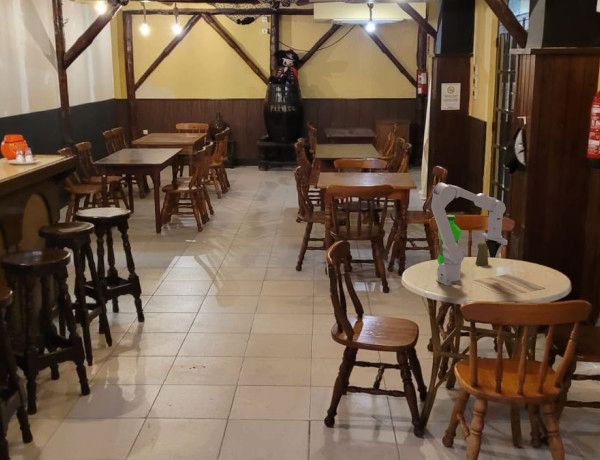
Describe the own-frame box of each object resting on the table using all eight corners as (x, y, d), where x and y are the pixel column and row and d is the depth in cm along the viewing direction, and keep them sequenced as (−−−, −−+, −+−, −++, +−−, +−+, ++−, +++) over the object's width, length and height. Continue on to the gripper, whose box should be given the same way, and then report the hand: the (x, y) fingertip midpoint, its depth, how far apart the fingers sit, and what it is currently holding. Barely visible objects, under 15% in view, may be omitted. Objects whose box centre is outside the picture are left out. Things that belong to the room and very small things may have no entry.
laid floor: (505, 299, 271) (505, 296, 271) (469, 284, 291) (469, 280, 290) (531, 294, 278) (531, 291, 277) (494, 279, 297) (495, 276, 296)
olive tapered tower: (486, 262, 323) (487, 240, 320) (490, 266, 317) (491, 243, 314) (473, 262, 322) (475, 240, 320) (477, 266, 317) (479, 244, 314)
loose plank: (532, 294, 278) (532, 290, 277) (496, 279, 297) (496, 276, 297) (545, 291, 281) (545, 288, 280) (508, 277, 300) (508, 273, 300)
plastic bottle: (444, 263, 322) (447, 212, 316) (463, 267, 314) (466, 216, 308) (432, 267, 315) (434, 215, 309) (451, 272, 308) (454, 219, 302)
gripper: (513, 229, 287) (511, 260, 290) (490, 222, 299) (488, 251, 303) (501, 231, 284) (498, 262, 287) (478, 224, 296) (476, 253, 300)
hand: (492, 257), depth 295 cm, fingers closed
